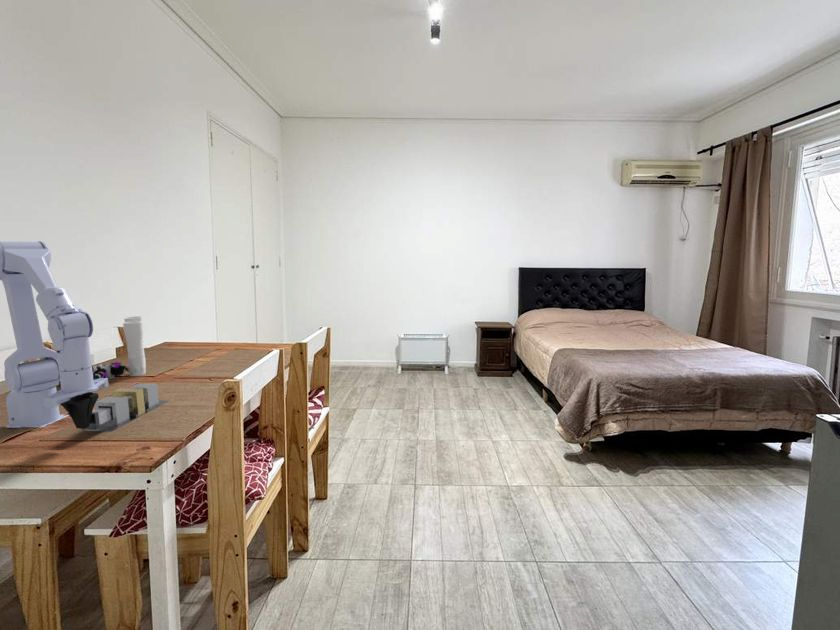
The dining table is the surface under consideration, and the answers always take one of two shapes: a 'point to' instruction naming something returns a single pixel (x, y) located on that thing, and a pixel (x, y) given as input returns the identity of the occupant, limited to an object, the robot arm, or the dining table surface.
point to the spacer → (136, 398)
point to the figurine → (109, 371)
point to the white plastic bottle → (135, 345)
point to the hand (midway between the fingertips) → (82, 427)
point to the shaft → (105, 414)
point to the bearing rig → (122, 409)
